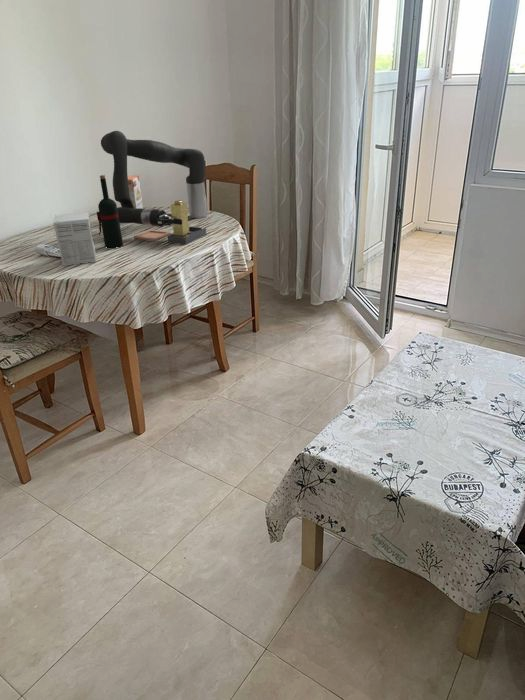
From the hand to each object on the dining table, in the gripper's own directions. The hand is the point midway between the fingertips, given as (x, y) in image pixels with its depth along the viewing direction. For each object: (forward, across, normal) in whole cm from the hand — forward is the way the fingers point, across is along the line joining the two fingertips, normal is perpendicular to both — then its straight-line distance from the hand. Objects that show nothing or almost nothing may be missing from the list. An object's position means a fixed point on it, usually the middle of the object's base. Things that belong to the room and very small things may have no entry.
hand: (185, 220), depth 228 cm
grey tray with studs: (-3, +4, +10) cm, 11 cm away
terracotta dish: (-20, +1, +10) cm, 22 cm away
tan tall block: (-3, 0, +9) cm, 9 cm away
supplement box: (-29, -37, +10) cm, 48 cm away
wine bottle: (-29, -17, +10) cm, 35 cm away
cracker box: (-51, +29, +10) cm, 59 cm away
